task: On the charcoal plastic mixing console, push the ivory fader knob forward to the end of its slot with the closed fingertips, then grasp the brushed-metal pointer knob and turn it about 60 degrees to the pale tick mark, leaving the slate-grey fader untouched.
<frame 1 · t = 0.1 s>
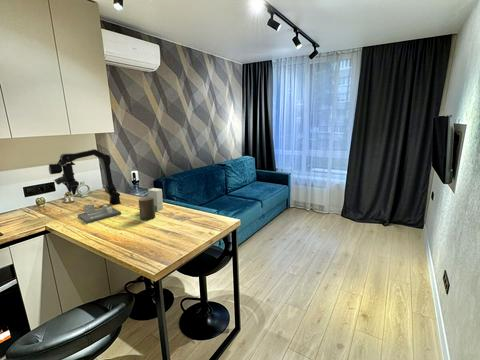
hand: (72, 193, 183), 15 cm above the breakfast bar, fingers open, 9 cm apart
dial: (89, 208, 181), point 5 cm above the breakfast bar, hinge at 0.0°
pillar candle: (148, 217, 176), on the breakfast bar
console: (99, 215, 181), on the breakfast bar
fader a: (109, 210, 180), point 4 cm above the breakfast bar, slide at 0.0 cm
skincare box: (156, 209, 191), on the breakfast bar
fader b: (105, 207, 184), point 4 cm above the breakfast bar, slide at 0.0 cm
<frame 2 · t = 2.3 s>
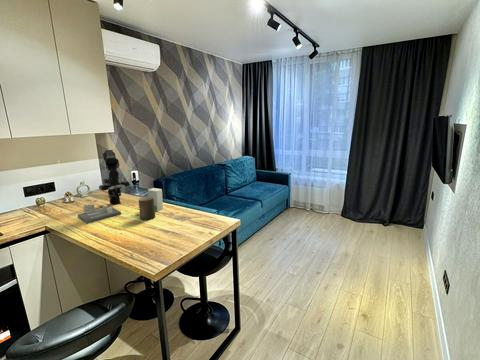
hand: (116, 197, 182), 12 cm above the breakfast bar, fingers closed
nothing on the breakfast bar moved.
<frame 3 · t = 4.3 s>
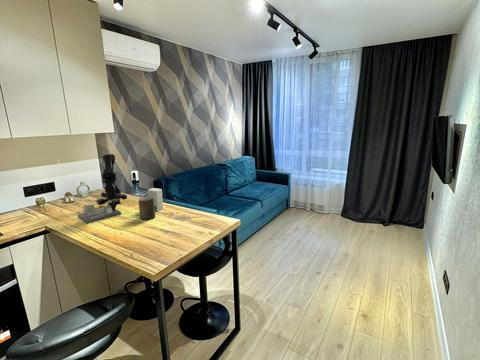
hand: (113, 210, 182), 3 cm above the breakfast bar, fingers closed
fader a: (108, 210, 180), point 4 cm above the breakfast bar, slide at 0.4 cm, touching gripper
everything else where it was.
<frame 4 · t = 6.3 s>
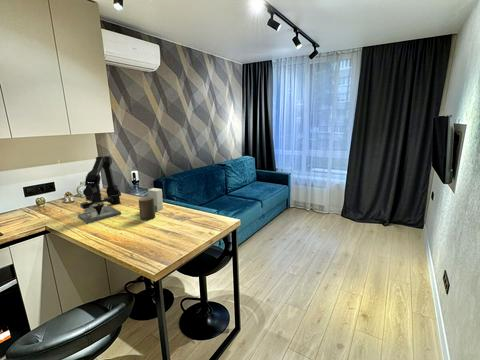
hand: (98, 214, 175), 3 cm above the breakfast bar, fingers closed
fader a: (93, 213, 173), point 4 cm above the breakfast bar, slide at 10.1 cm, touching gripper
everything else where it was.
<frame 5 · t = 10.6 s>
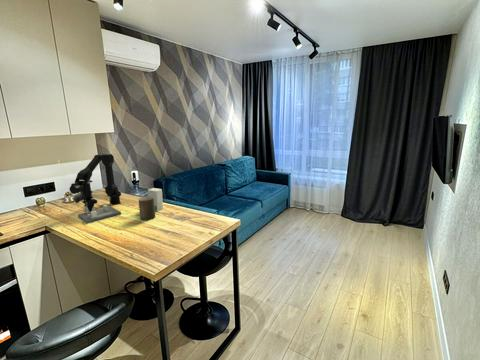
hand: (89, 211, 182), 3 cm above the breakfast bar, fingers closed on dial, 3 cm apart
dial: (89, 208, 181), point 5 cm above the breakfast bar, hinge at 0.0°, touching gripper
fader a: (93, 213, 173), point 4 cm above the breakfast bar, slide at 10.1 cm
everything else where it was.
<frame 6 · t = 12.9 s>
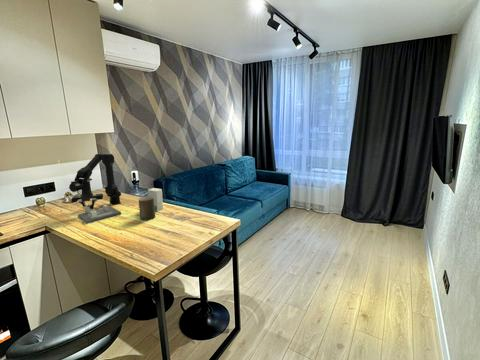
hand: (89, 209, 181), 4 cm above the breakfast bar, fingers closed on dial, 4 cm apart
dial: (89, 208, 181), point 5 cm above the breakfast bar, hinge at 42.5°, touching gripper
everything else where it was.
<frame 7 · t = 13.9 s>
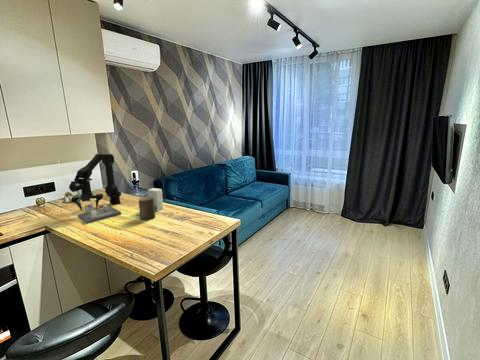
hand: (89, 209, 181), 4 cm above the breakfast bar, fingers open, 9 cm apart
dial: (89, 208, 181), point 5 cm above the breakfast bar, hinge at 45.1°
everything else where it was.
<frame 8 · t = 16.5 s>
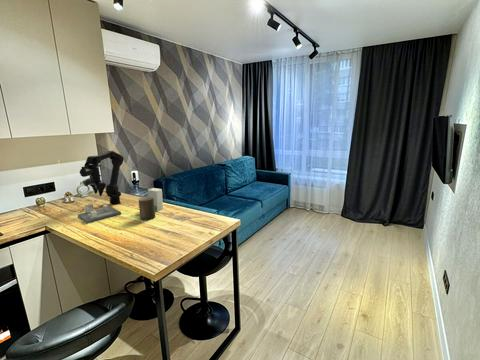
hand: (98, 194, 189), 12 cm above the breakfast bar, fingers open, 9 cm apart
dial: (89, 208, 181), point 5 cm above the breakfast bar, hinge at 46.2°
everything else where it was.
at the end: fader a slide at 10.1 cm; dial at +46° (first picture: +0°); fader b slide at 0.0 cm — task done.
